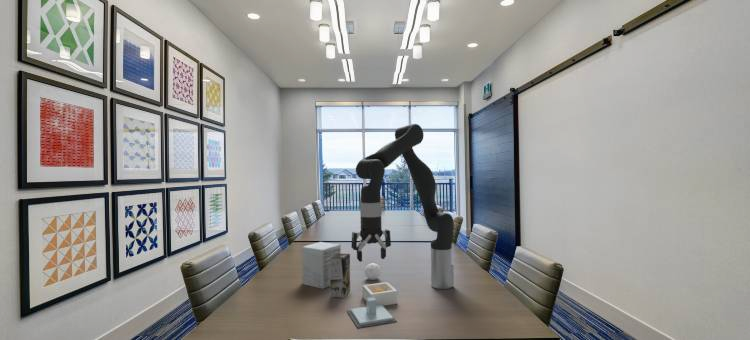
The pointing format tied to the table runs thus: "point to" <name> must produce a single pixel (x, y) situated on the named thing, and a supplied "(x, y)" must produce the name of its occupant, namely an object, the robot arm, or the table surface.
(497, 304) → the table surface
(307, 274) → the supplement box
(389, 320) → the mat
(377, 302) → the dish
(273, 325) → the table surface
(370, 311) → the lid
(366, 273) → the geometric ball
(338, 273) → the coffee box
